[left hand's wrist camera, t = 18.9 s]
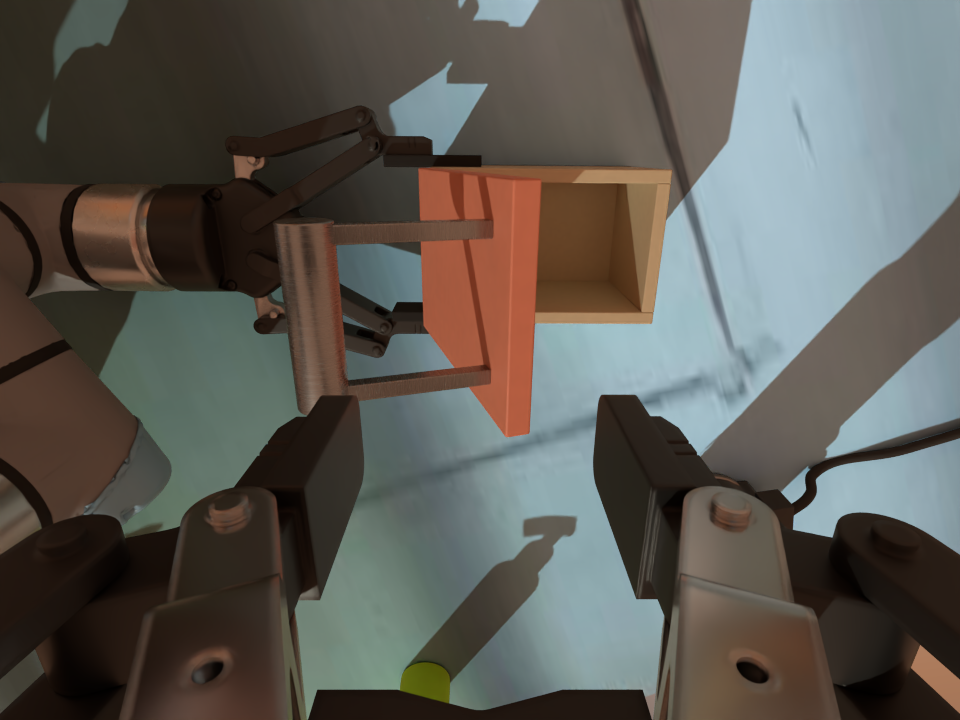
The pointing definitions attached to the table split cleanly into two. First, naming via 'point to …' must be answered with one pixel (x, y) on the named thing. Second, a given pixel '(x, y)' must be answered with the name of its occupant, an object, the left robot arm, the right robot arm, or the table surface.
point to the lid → (429, 293)
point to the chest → (596, 240)
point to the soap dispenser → (427, 681)
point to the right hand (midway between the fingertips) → (480, 240)
